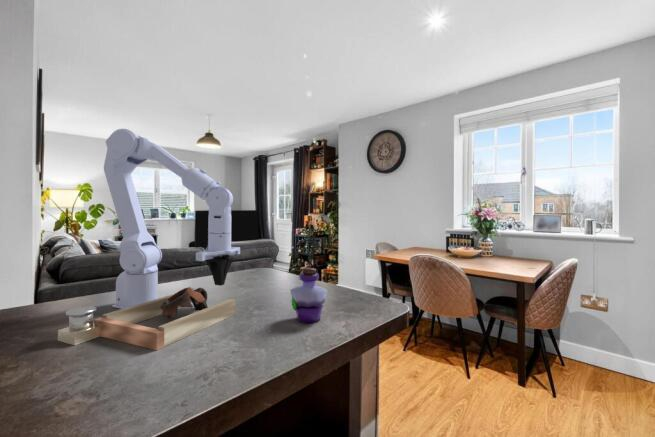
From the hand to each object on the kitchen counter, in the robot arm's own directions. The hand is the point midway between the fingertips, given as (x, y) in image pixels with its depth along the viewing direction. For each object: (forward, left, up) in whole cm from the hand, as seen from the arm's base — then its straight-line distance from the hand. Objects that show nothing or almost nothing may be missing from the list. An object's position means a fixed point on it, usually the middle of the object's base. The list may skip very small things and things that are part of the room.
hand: (219, 284), depth 81 cm
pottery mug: (+1, -11, -6) cm, 12 cm away
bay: (0, -14, -5) cm, 15 cm away
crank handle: (-9, -2, -6) cm, 11 cm away
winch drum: (-9, -28, -5) cm, 29 cm away
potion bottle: (+26, 0, -6) cm, 27 cm away
